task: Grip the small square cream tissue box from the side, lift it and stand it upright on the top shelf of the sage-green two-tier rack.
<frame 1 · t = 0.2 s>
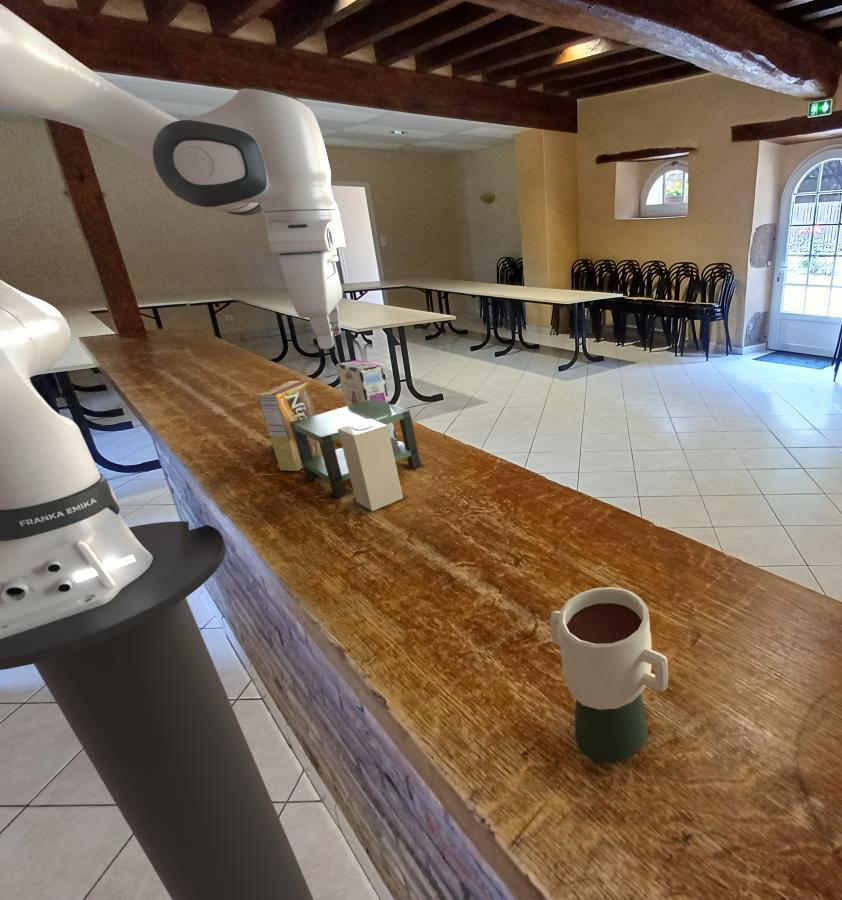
hand: (331, 341, 77), 27 cm above the bar counter, tool pointing down, fingers open, 8 cm apart
rack: (364, 471, 103), on the bar counter
supplement box: (291, 446, 118), on the bar counter
candy box: (304, 462, 109), on the bar counter
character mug: (611, 737, 48), on the bar counter
candy bar box: (375, 439, 119), on the bar counter
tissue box: (379, 500, 92), on the bar counter
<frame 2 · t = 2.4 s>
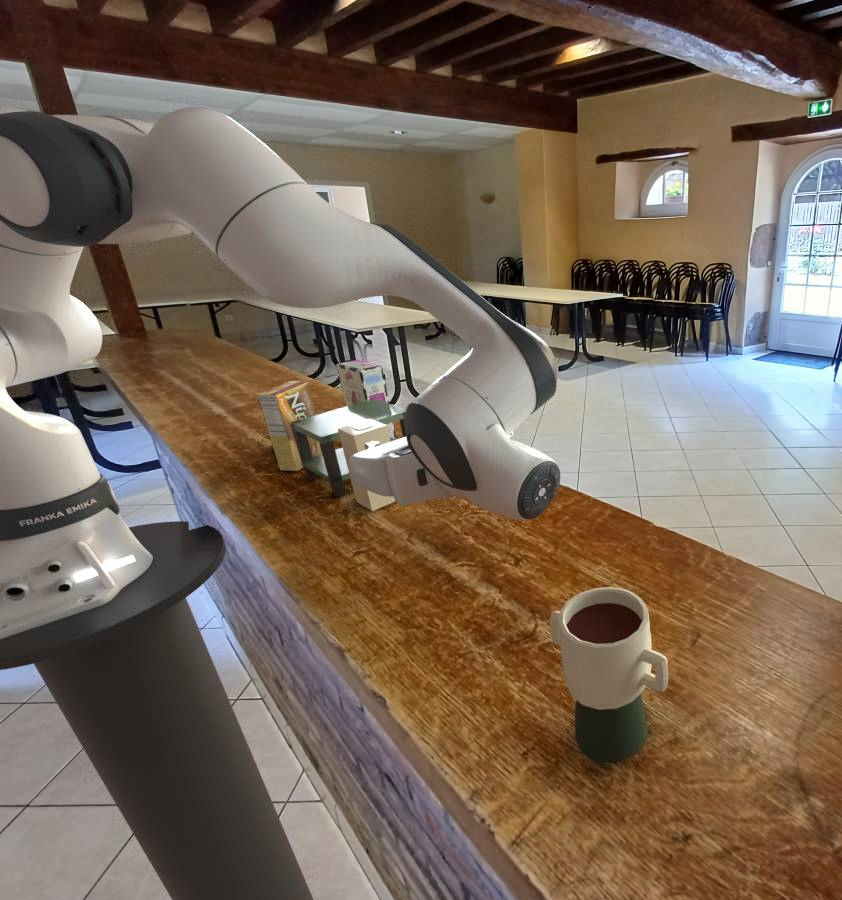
hand: (401, 437, 79), 14 cm above the bar counter, tool horizontal, fingers open, 8 cm apart
nothing on the bar counter moved.
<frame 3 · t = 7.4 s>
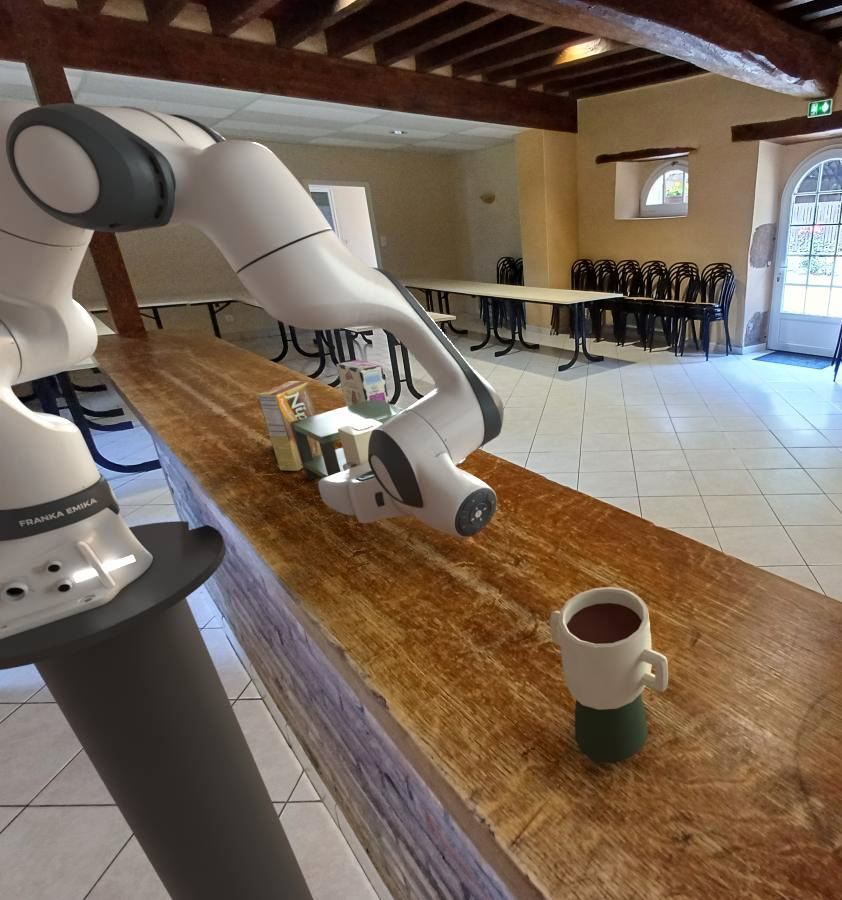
hand: (367, 460, 90), 7 cm above the bar counter, tool horizontal, fingers closed on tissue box, 5 cm apart
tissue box: (379, 499, 92), on the bar counter, touching gripper
everything else where it was.
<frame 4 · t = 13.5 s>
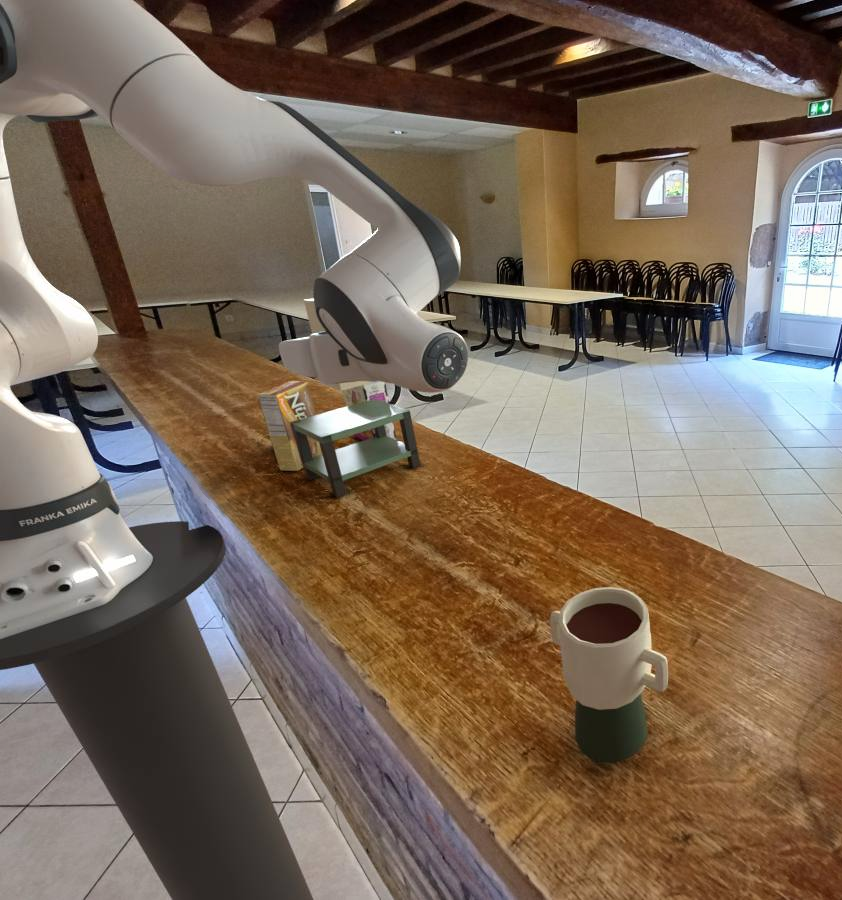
hand: (336, 338, 84), 27 cm above the bar counter, tool horizontal, fingers closed on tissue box, 5 cm apart
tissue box: (350, 383, 86), point 20 cm above the bar counter, touching gripper
everything else where it was.
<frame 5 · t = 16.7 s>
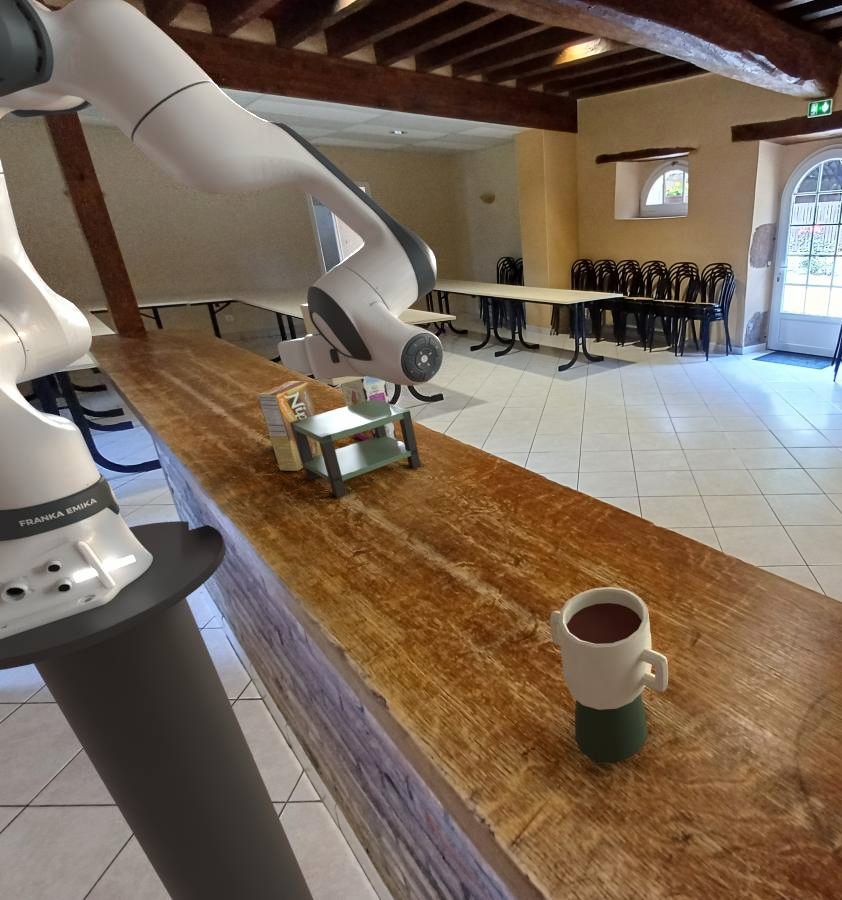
hand: (329, 339, 94), 25 cm above the bar counter, tool horizontal, fingers closed on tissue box, 5 cm apart
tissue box: (342, 379, 96), point 18 cm above the bar counter, touching gripper
everything else where it was.
when the fingers open (18 cm above the bar counter, at t = 19.6 s): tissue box stays where it is, resting on rack.
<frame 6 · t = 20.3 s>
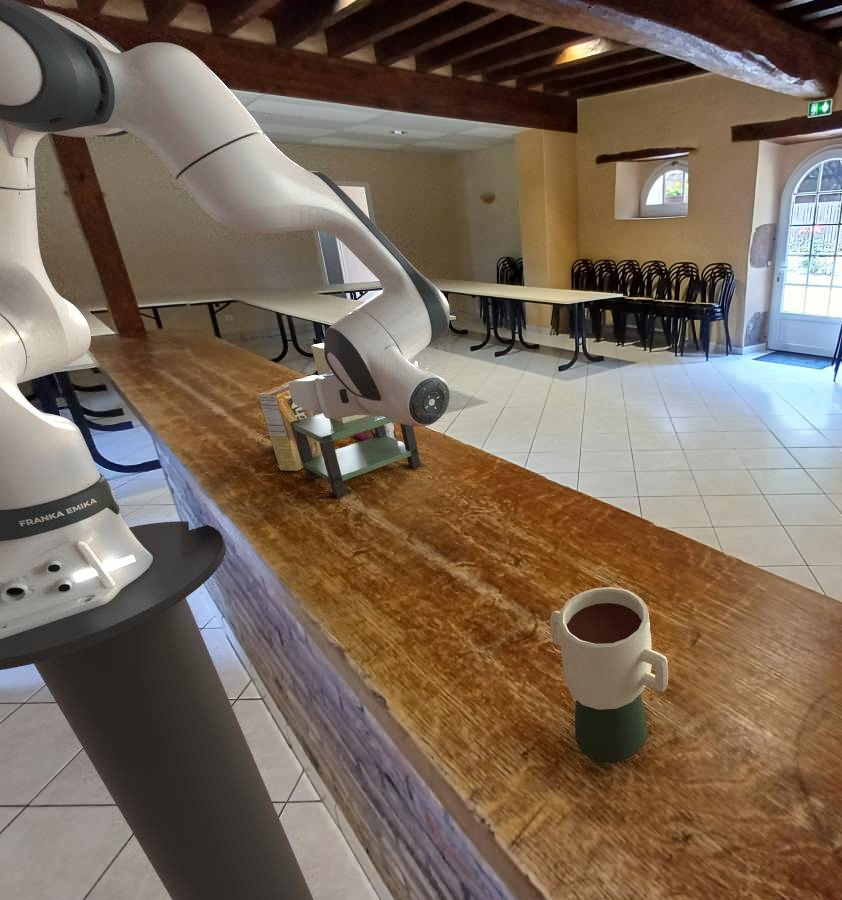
hand: (338, 374, 96), 19 cm above the bar counter, tool horizontal, fingers open, 8 cm apart
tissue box: (351, 416, 99), point 11 cm above the bar counter, touching rack
everything else where it was.
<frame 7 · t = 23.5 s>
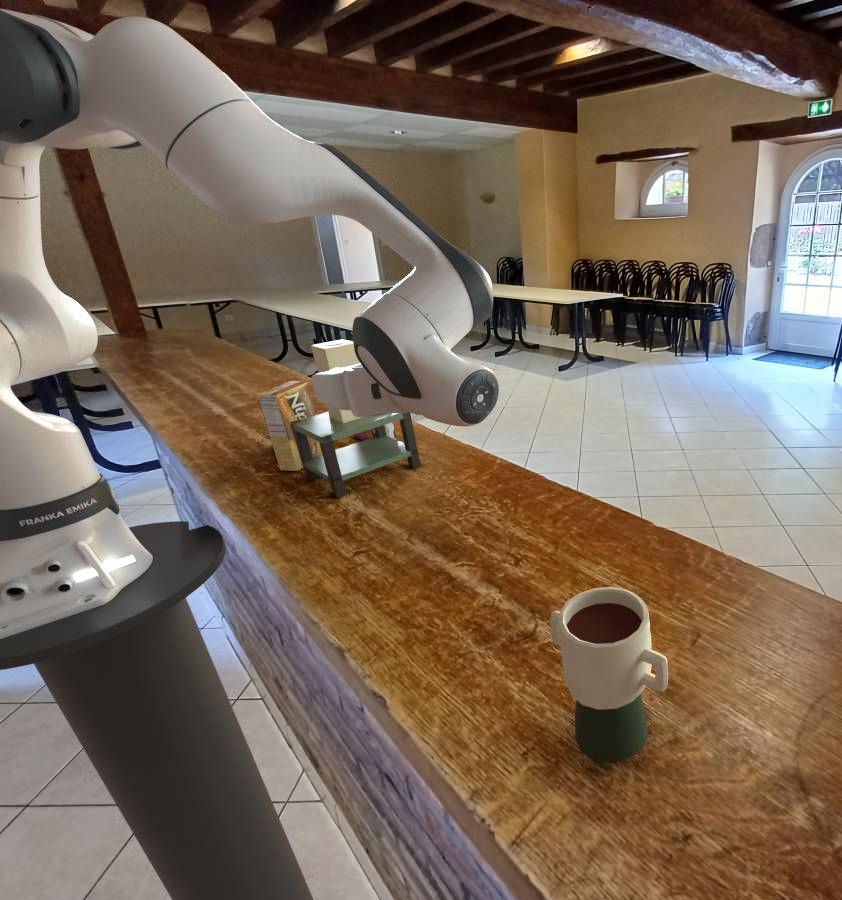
hand: (364, 367, 85), 22 cm above the bar counter, tool horizontal, fingers open, 8 cm apart
nothing on the bar counter moved.
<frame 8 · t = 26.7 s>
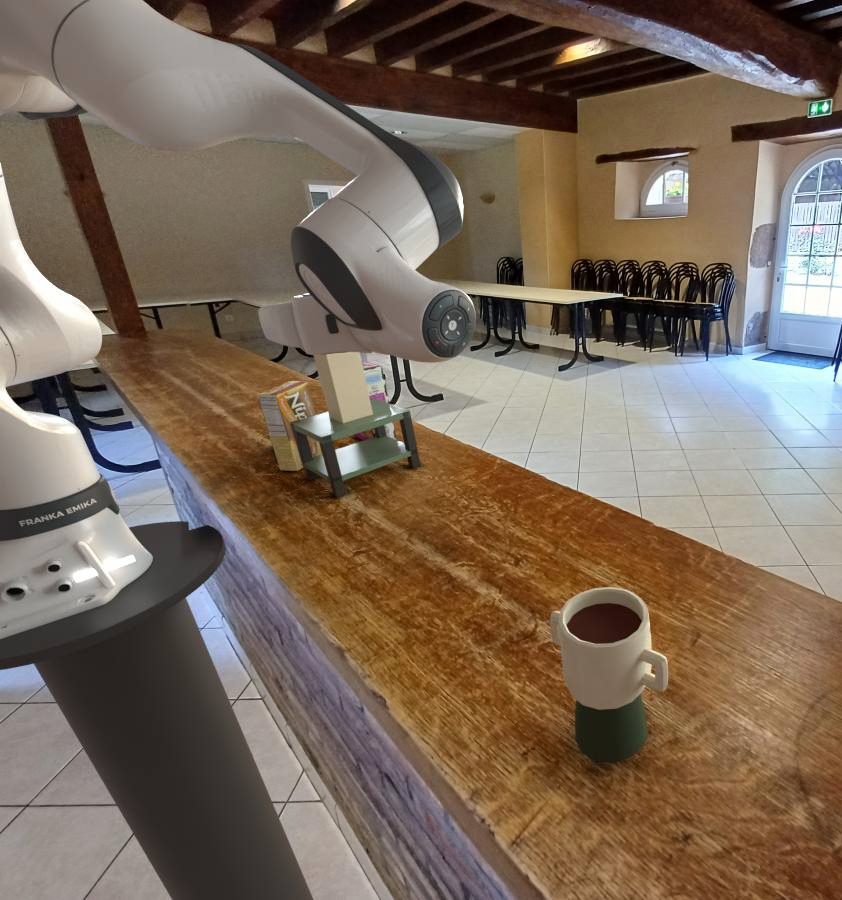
hand: (326, 308, 74), 32 cm above the bar counter, tool horizontal, fingers open, 8 cm apart
nothing on the bar counter moved.
at the end: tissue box inside the target area on the rack (0.1 cm from its centre), point 11.0 cm above the rack's base; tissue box tilted 0°; the gripper is holding nothing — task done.
